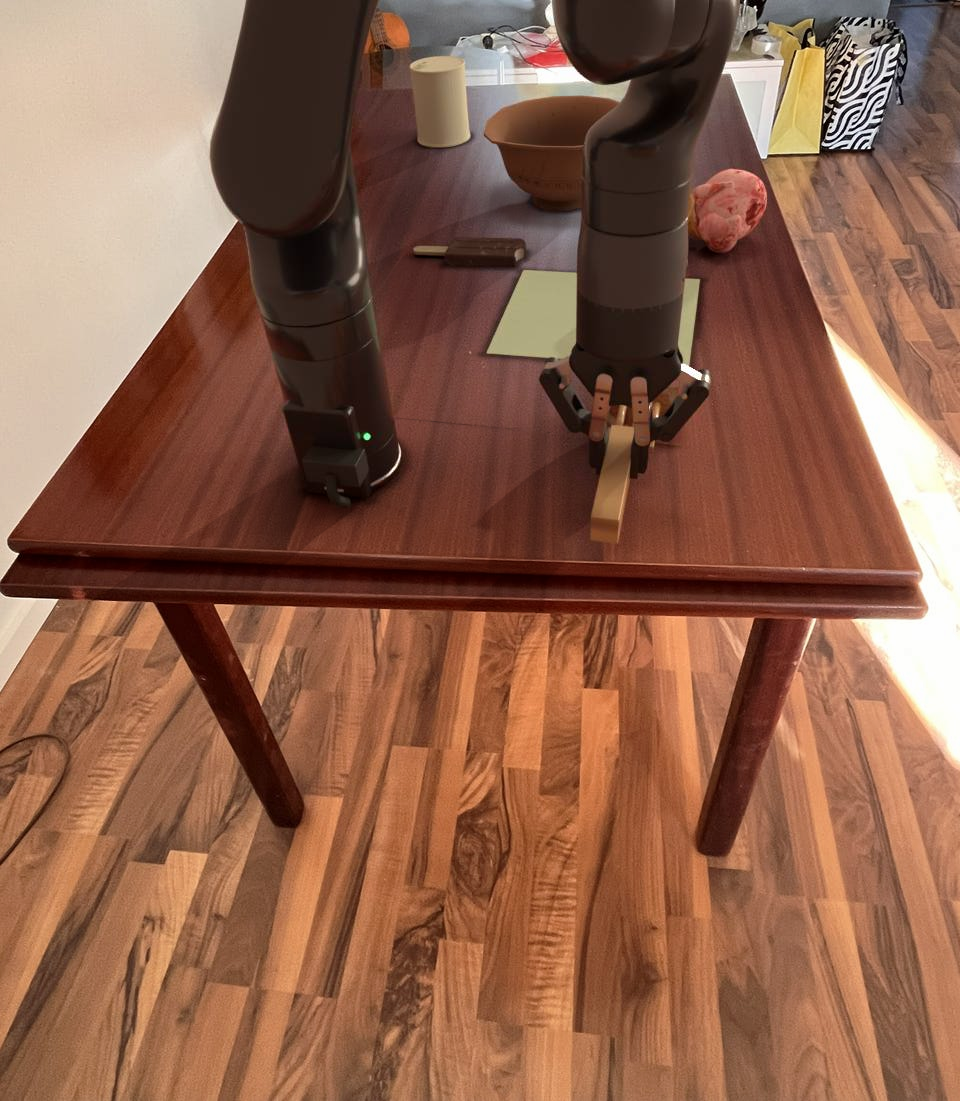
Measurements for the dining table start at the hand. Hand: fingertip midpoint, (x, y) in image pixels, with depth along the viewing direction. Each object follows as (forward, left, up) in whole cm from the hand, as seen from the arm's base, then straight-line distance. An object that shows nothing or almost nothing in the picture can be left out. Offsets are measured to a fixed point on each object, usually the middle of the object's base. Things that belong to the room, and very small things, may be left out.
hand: (618, 470), depth 69 cm
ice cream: (+51, -5, -4) cm, 51 cm away
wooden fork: (0, 0, 0) cm, 0 cm away
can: (+89, +41, -4) cm, 98 cm away
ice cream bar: (+45, +25, -4) cm, 52 cm away
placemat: (+32, +6, -4) cm, 33 cm away
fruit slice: (+11, 0, -4) cm, 11 cm away
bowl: (+65, +16, -4) cm, 67 cm away
